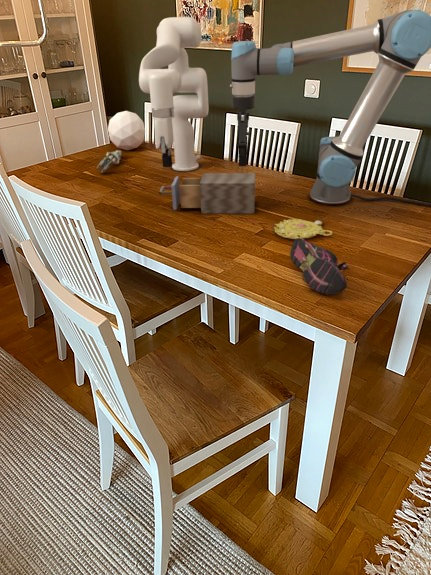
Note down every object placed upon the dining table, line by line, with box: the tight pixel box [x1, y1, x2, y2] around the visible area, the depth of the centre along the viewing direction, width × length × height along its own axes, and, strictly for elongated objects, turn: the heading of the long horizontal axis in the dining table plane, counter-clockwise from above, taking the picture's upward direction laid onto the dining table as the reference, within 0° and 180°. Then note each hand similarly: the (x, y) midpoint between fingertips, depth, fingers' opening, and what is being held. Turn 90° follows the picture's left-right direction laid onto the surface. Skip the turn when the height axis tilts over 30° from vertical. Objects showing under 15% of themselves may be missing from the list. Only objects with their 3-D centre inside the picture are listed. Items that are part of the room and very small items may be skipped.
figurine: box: [96, 150, 123, 174], centre depth 213 cm, size 7×8×30 cm
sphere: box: [107, 110, 146, 151], centre depth 234 cm, size 19×20×20 cm
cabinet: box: [200, 172, 256, 214], centre depth 163 cm, size 20×11×11 cm, turn 85°
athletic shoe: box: [289, 238, 350, 295], centre depth 119 cm, size 11×22×12 cm
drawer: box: [158, 175, 202, 211], centre depth 164 cm, size 24×10×9 cm, turn 85°
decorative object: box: [273, 218, 333, 240], centre depth 145 cm, size 21×2×20 cm
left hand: (167, 166), depth 159 cm, fingers closed
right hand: (243, 160), depth 156 cm, fingers open, 13 cm apart
